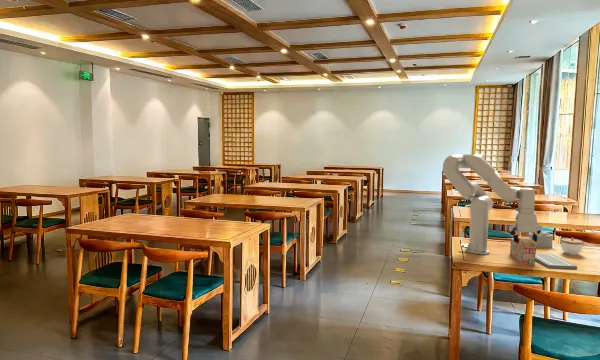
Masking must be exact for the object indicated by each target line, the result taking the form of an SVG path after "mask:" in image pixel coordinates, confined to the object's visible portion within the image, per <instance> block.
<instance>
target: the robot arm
mask: <svg viewBox="0 0 600 360" xmlns="http://www.w3.org/2000/svg"><path fill="white" fill-rule="evenodd" d="M459 169H470V170H471V171H473V172H474V173H475V174H476V175H477V176H478V177H480V178H481V179H482V180H483V181H484V182H485V183H486V185H487V186H488V187H489V188H490V190H491V191H493V192H494V193H495V195H497V196H498V197H499V198H501V199H502V200H503V201H505V202H510V203H511V202H514V201H516V200H517V201H518V206H517V208H516V209H515V212H516V216H515V220H514V221H515V222H514V223H513V224H512V225H510V226H508V229H509V232H510V233H511V234H512V235H513V237H512V238H513V240H514V242H516V243H518V237H519V235H518V234H520V233H531V232H532V233H533V235H532V240H534V241H535V242H536V243H537V236H538V234H539V233H540V232H541V231H543V226H542V225H541V226H540V225H539V224H538V219H537V214H536V213H535V197H536V191H535V189H534V188H531V187H517V186H509V185H508V184H507V183H506V181H504V180H503V179H502V177H500V175H499V172H498V171H497V169H495V168H494V167H493V165H491V164H490V163H488V162H487V159H486V156H484V155H483V154H481V153H474V154H451V155H450V154H449V155H448V156H447V157H446V158H445V159H444V160H443V163H442V172H443V174H444V176H445V177H446V179H447V180H448V182H450V184H451V185H452V186H453V187H454V189H455V190H456V191H457V192H458V193H459V195H460V196H461V197H462V198H463V199H467V200H468V199H469V200H470V201H471V202H470V206H469V215H470V219H469V221H470V222H469V239H468V241H469V242H467V243H460V244H459V246H460V248H464V249H465V251H466V252H467V253H470V254H473V255H474V254H476V255H489V254H490V250H489V249H488V238H489V237H488V235H489V233H488V232H489V212H490V211H491V210H492V209H493V208H494V207H493V206H494V202H493V200H492V198H491V197H490V196H489V194H488V193H487V192H486V191H485V190H484V189H483V188H482V186H480V185H479V183H477V182H475V181H470V180H469V179H468V178H467V177H466V175H465V174H464V173H463V172H461V171H460V170H459Z"/></svg>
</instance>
